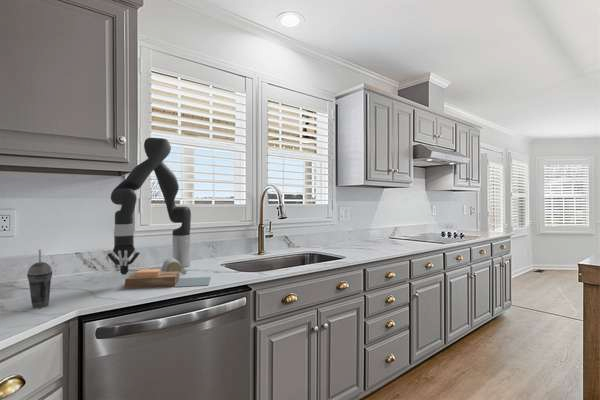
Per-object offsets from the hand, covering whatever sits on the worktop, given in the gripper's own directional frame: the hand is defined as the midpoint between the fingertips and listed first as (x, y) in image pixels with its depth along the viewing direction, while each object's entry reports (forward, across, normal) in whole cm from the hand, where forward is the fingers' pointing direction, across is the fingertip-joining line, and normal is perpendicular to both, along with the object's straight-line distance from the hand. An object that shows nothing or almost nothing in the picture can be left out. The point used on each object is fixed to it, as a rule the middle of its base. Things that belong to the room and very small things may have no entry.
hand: (124, 274), depth 152 cm
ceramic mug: (+5, -18, -20) cm, 27 cm away
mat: (+5, -29, 0) cm, 29 cm away
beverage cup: (+5, +20, +26) cm, 33 cm away
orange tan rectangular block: (+1, -10, 0) cm, 10 cm away
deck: (+5, -12, 0) cm, 13 cm away
